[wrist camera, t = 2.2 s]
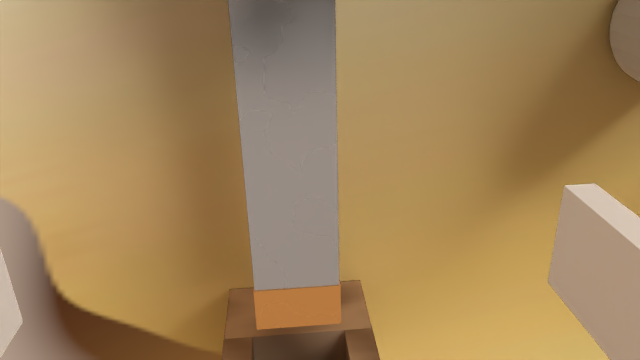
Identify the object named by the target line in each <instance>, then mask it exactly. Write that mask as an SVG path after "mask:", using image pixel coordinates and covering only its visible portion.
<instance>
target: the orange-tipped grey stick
mask: <svg viewBox="0 0 640 360" xmlns="http://www.w3.org/2000/svg"><path fill="white" fill-rule="evenodd" d="M228 6H229V17H230V28H231V39H232V50H233V61H234V72H235V82H236V93H237V104H238V115H239V126H240V137H241V148H242V159H243V170H244V181H245V192H246V203H247V214H248V224H249V235H250V246H251V257H252V268H253V279H254V289H253V293H254V304H255V315H256V326H257V330H259V329H273V328H286V327H300V326H313V325H327V324H341V285H340V280H339V232H338V164H337V97H336V30H335V0H228Z"/></svg>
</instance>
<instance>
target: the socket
mask: <svg viewBox="0 0 640 360" xmlns="http://www.w3.org/2000/svg"><path fill="white" fill-rule="evenodd" d="M340 285H341V324H327V325H313V326H300V327H286V328H273V329H259V330H257V326H256V315H255V304H254V293H253V289H254V288H243V289H230V292H229V301H228V309H227V318H226V327H225V335H224V344H223V353H222V360H380V358H379V354H378V350H377V346H376V342H375V338H374V334H373V330H372V326H371V322H370V318H369V314H368V310H367V306H366V302H365V298H364V294H363V290H362V286H361V283H360V280H359V281H344V282H340Z"/></svg>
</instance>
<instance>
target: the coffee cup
mask: <svg viewBox="0 0 640 360" xmlns="http://www.w3.org/2000/svg"><path fill="white" fill-rule="evenodd" d="M610 44H611V48H612V51H613V55H614V58H615V60H616V62H617V63H618V65H619V66H620V68H621V69H622V71H624V72H625V73H626V74H628V75H629V76H631V77H632V78H633V79H635V80H637V81H639V82H640V0H619V1H618V3H617V5H616V7H615V9H614V11H613V14H612V18H611V23H610Z"/></svg>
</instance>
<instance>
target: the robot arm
mask: <svg viewBox="0 0 640 360" xmlns="http://www.w3.org/2000/svg"><path fill="white" fill-rule="evenodd" d="M548 283H549V284H550V286H551V287H552V288H553V289H554V291H555V292H556V293H557V294H558V296H559V297H560V298H561V299H562V301H563V302H564V303H565V304H566V306H567V307H568V308H569V309H570V311H571V312H572V313H573V314H574V315H575V317H576V318H577V319H578V320H579V322H580V323H581V324H582V325H583V327H584V328H585V329H586V330H587V332H588V333H589V334H590V335H591V337H592V338H593V339H594V340H595V342H596V343H597V344H598V345H599V346H600V348H601V349H602V350H603V351H604V353H605V354H606V355H607V356H608V358H609V359H610V360H640V217H639V216H637V215H636V214H635V213H633V212H632V211H631V210H629V209H628V208H627V207H625V206H624V205H623V204H622V203H620V202H619V201H618V200H616V199H615V198H614V197H612V196H611V195H610V194H608V193H607V192H606V191H604V190H603V189H602V188H600V187H599V186H598V185H597V184H595V183H593V184H577V185H564V189H563V195H562V201H561V207H560V213H559V218H558V224H557V230H556V236H555V242H554V248H553V254H552V260H551V266H550V272H549V277H548ZM22 323H23V320H22V316H21V313H20V310H19V307H18V304H17V300H16V297H15V293H14V291H13V287H12V284H11V280H10V277H9V274H8V271H7V267H6V264H5V261H4V257H3V254H2V251H1V248H0V358H1V356H2V354H3V353H4V351H5V350H6V348H7V347H8V345H9V343H10V341H11V340H12V339H13V337H14V336H15V334H16V332H17V331H18V329H19V327H20V326H21V324H22Z"/></svg>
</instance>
